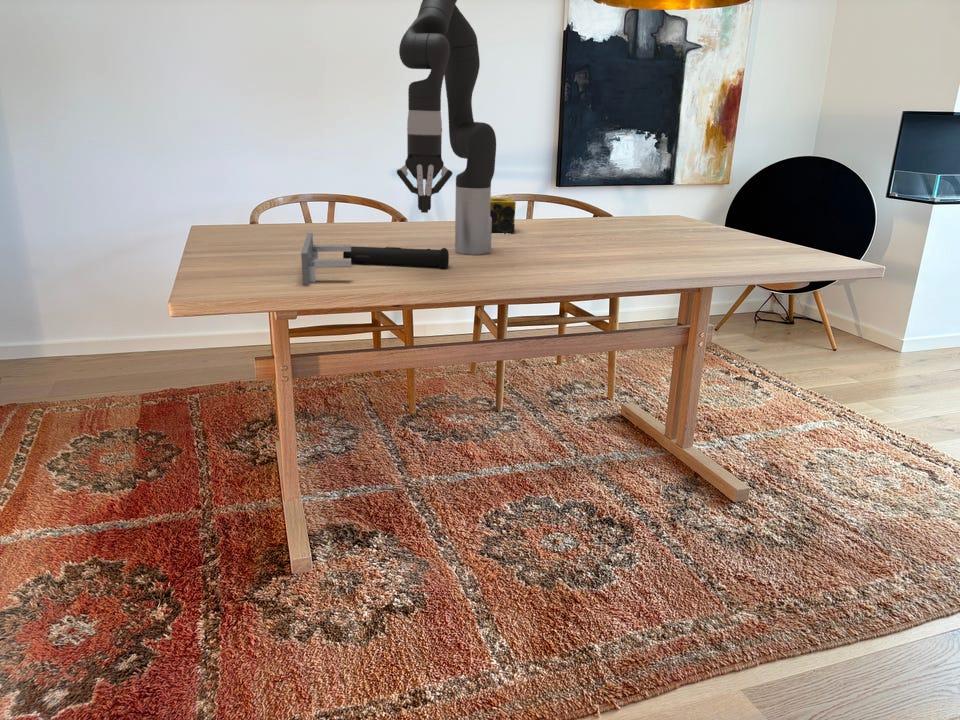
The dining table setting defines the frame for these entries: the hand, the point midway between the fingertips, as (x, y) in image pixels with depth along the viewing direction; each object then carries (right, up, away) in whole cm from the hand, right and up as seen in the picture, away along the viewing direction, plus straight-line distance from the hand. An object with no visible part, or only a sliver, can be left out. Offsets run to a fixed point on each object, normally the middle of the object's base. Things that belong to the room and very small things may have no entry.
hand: (424, 212), depth 166 cm
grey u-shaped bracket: (-21, -15, +1) cm, 25 cm away
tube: (-8, -12, +12) cm, 18 cm away
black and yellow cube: (+18, +7, +63) cm, 66 cm away
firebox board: (-26, -15, +1) cm, 30 cm away
